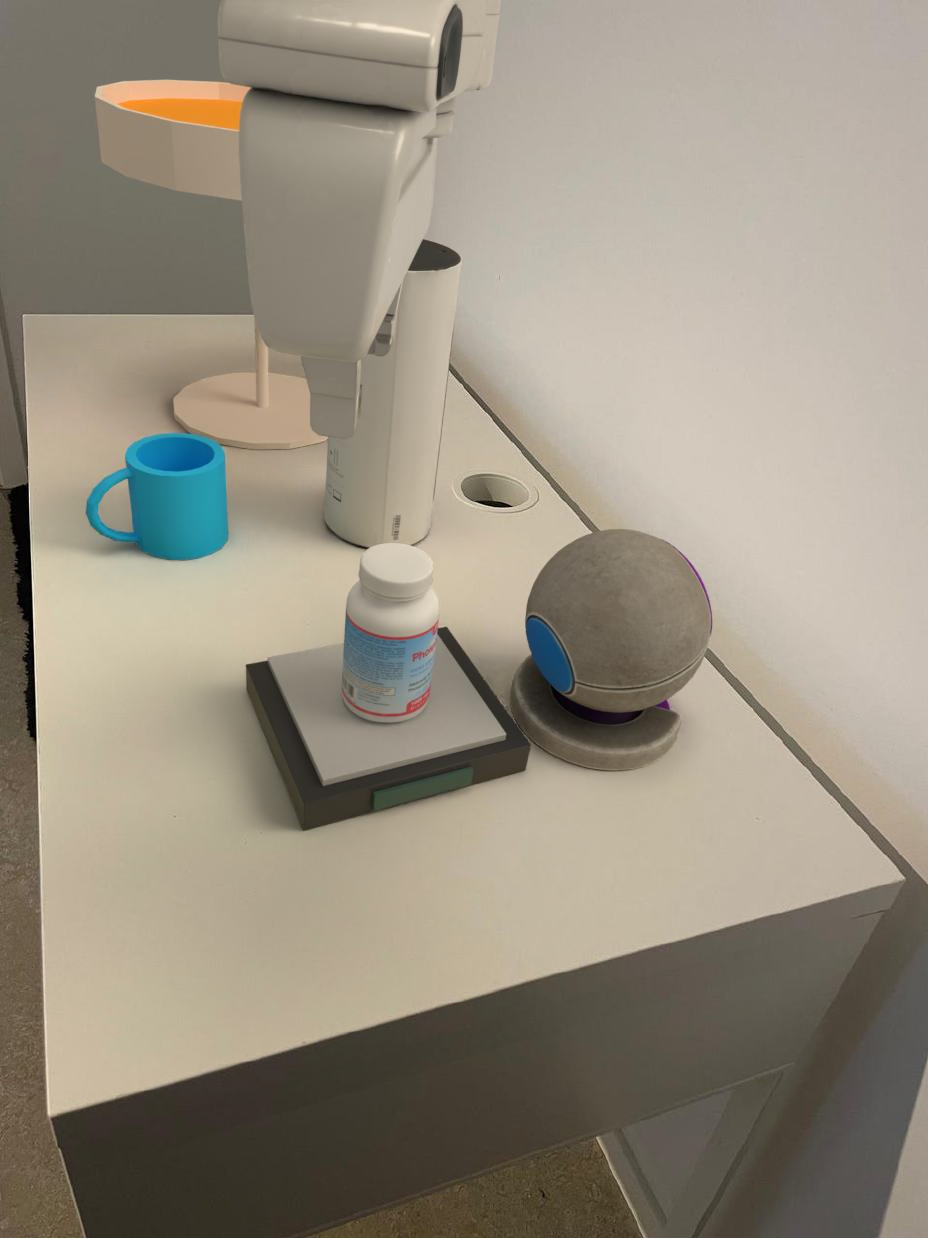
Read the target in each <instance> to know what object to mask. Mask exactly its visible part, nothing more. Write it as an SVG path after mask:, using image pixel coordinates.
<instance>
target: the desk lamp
mask: <svg viewBox="0 0 928 1238" xmlns="http://www.w3.org/2000/svg"><path fill="white" fill-rule="evenodd" d="M250 88H251V87H245V86H240V85H234V84H230V83H228V82H224V81H223V82H221V81H205V80H181V79H153V80H152V79H147V80H146V79H144V80H123V81H118V82H113V83H108V84H103V85H99V86H96V89H95V93H94V104H95V114H96V115H95V116H96V122H97V131H98V133H97V134H98V142H99V152H100V160H101V163H102V164H104V165H106V166H107V167H109V168H111V169H112V170H114V171H115V172H118V173H119V174H121V175H123V176H124V177H126V178H130V179H133V180H136V181H141V182H143V183H148V184H151V185H154V186H158V187H161V188H165V189H169V190H173V191H177V192H183V193H190V194H195V195H202V196H209V197H215V198H222V199H228V200H235V201H241V202H242V196H241V182H240V165H239V121H240V112H241V107H242V103H243V99H244V97H245V95H246V93H247V92H248V90H249V89H250ZM254 358H255V359H254V360H255V361H254V365H255V372H248V371H247V372H239V371H238V372H233V373H232V372H231V373H226V374H218V375H212V376H207V377H205V378H202V379H200V380H197V381H195V382H192V383H189V384H187V385H184V386H183V388H182V389H180V391H178V393H177V394H176V395H175V396H174V397H173V398H172V400H173V403H172V404H173V416H174V417H173V418H174V420H175V421H176V422H177V423H178V424H179V425H180V426H181V427H183V428H184V429H185V430H186V431H187V432H188V434H194V435H199V436H203V437H206V438H208V439H211V440H213V441H215V442H216V443H218V444H219V445H221V446H222V445H223V446H229V447H234V448H242V449H247V450H248V449H249V450H254V451H255V450H256V451H257V450H291V449H292V450H293V449H297V448H301V447H306V446H311V445H316V444H320V443H323V442H325V441H328V437H327V436H320V435H318V434H316V433H315V432H314V431H313V430H312V428H311V426H310V391H309V388H308V384H307V380H306V378H304V377H300V376H295V375H288V374H281V373H275V372H269V348H268V347H267V346H266V344H265V343H264V341H263V339H262V337H261V335H260V332H259V329H258V327H257V324H256V321H255V320H254Z"/></svg>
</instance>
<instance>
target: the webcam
mask: <svg viewBox="0 0 928 1238" xmlns="http://www.w3.org/2000/svg"><path fill="white" fill-rule="evenodd" d="M712 611H713V610H712V606H711V600H710V598H709V594H708V591H707V588H706V585H705V583H704V581H703V580H702V577H701V576H700V574H699V572H698V571H697V569H696V568H695V567H694V564H692V561H690V560H689V559H688V557H687V556H685V554H683V553H682V552H681V551H680V550H679V549H677V547H675V546H674V545H672V544H671V543H670V542H668V541H666V540H665V539H662V538H659V537H657V536H654V535H651V534H648V533H645V532H644V531H640V530H636V529H635V530H633V529H624V528H615V529H614V528H612V529H611V528H610V529H605V530H598V531H594V532H592V533H588V534H585V535H582V536H580V537H579V538H576V539H575V540H573V541H571V542H570V543H568V544H566V545H564V546H563V547H562V548H561V549H559V550H558V551H556V553H554V555H552V557H551V558H549V560H548V561H547V562H546V563H545V565H544V566H543V567H542V569H541V570H540V571H539V573H538V574H537V577H536V578H535V580H534V582H533V584H532V587H531V590H530V591H529V595H528V598H527V602H526V609H525V618H524V628H525V636H526V641H527V645H528V649H529V651H530V654H529V655H528V656H527V657H526V658H525V659H524V660H523V661H522V662H521V663H520V664H519V666H518V668H517V670H516V671H515V674H514V677H513V680H512V683H511V688H510V693H509V703H510V709H511V712H512V714H513V717H514V719H515V721H516V724H518V727H520V730H521V731H522V732H523V733H524V734H525V735H526V736H527V737H528V738H529V739H530V740H532V741H533V742H534V743H535V744H536V745H537V746H539V747H540V748H542V749H543V750H544V751H546V752H547V753H549V754H551V755H553V756H555V757H557V758H559V759H562V760H564V761H566V762H568V763H570V764H571V763H572V764H574V765H578V766H580V767H585V768H588V769H594V770H602V771H603V770H604V771H624V770H625V771H626V770H634V769H637V768H643V767H645V766H648V765H651V764H654V763H655V762H657V761H659V760H660V759H661V758H663V757H664V756H665V755H667V754H668V753H669V751H670V750H671V749H672V748H673V746H674V744H675V743H676V741H677V738H678V735H679V733H680V728H681V725H682V720H683V719H682V714H681V713H680V712H677V711H675V710H671V708H670V704H669V701H668V700H669V699H671V697H673V696H674V695H675V694H677V693H679V692H680V691H681V690H682V689H683V688H684V687H686V685H687V684H688V683H689V682H690V681H691V680H692V678H694V676H695V674H696V673H697V671H698V670H699V668H700V667H701V664H702V663H703V660H704V658H705V656H706V653H707V649H708V646H709V643H710V638H711V636H712V631H713V612H712Z"/></svg>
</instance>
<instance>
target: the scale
mask: <svg viewBox="0 0 928 1238" xmlns="http://www.w3.org/2000/svg"><path fill="white" fill-rule="evenodd" d="M343 650H344V642H342V643H337V644H332V645H331V644H330V645H327V646H322V647H316V648H311V649H305V650H299V651H295V652H294V651H293V652H289V653H285V654H279V655H273V656H268V657H267V660H263V661H257V662H251V663H246V664H245V685H246V686H245V687H246V689H245V690H246V693H247V696H248V698H249V700H250V703H251V705H252V707H253V710H254V712H255V714H256V717H257V719H258V722H259V725H260V727H261V729H262V732H263V735H264V737H265V739H266V742H267V744H268V746H269V749H270V751H271V754H272V757H273V759H274V761H275V763H276V766H277V769H278V772H279V774H280V776H281V779H282V781H283V783H284V787H285V788H286V791H287V793H288V795H289V798H290V801H291V804H292V806H293V808H294V810H295V813H296V815H297V818H298V820H299V822H300V825H301V828H302V830H303V831H308V830H312V829H315V828H319V827H324V826H326V825H332V824H335V823H338V822H341V821H345V820H349V819H352V818H356V817H361V816H364V815H368V814H371V813H374V812H375V813H376V812H379V811H381V810H382V811H383V810H386V809H390V808H394V807H396V806H400V805H404V804H408V803H411V802H415V801H419V800H422V799H426V798H429V797H434V796H437V795H441V794H445V793H448V792H452V791H455V790H459V789H463V788H467V787H470V786H473V785H477V784H481V783H486V782H489V781H492V780H496V779H499V778H503V777H507V776H511V775H514V774H518V773H521V772H526V770H527V766H528V761H529V756H530V751H531V747H532V744H531V743H530V742H529V740H528V739H527V737H526V736H525V735H524V732H523V731H522V729H521V728H519V725H517V722H515V720H514V719H513V717H512V716H511V715H510V714H509V712H508V710H507V709H506V708H505V706H504V705H503V704H502V701H500V699H499V698H498V697H497V695H496V694H495V693H494V691H493V690H492V688H491V687H490V686H489V684H488V682H487V681H486V680H485V678H484V677H483V676H482V674H481V672H480V671H479V670H478V669H477V667H476V665H475V664H474V663H473V661H472V660H471V659H470V657H469V656H468V654H467V653H466V651H465V650H464V649H463V647H462V646H461V644H460V643H459V641H458V640H457V639H456V638H455V636H454V634H453V633H452V632H451V630H450V629H449V628H448V626H442V627H438V631H437V640H436V647H435V655H434V664H433V672H432V680H431V688H430V695H429V700H428V703H427V705H426V707H425V708H424V709H423V710H422V712H420V713H419V714H418V715H417V716H415V717H413V718H411V719H409V720H406V721H401V722H395V723H385V722H375V721H370V720H367V719H364V718H362V717H360V716H358V715H356V714H355V713H354V712H352V711H351V710H350V709H349V708H348V706H347V705H346V703H345V702H344V699H343V696H342V670H343Z"/></svg>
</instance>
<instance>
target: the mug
mask: <svg viewBox="0 0 928 1238" xmlns="http://www.w3.org/2000/svg"><path fill="white" fill-rule="evenodd" d="M124 460H125V468H124V467H123V468H121V469H118V470H116V471H114V472H112V473H111V474H109V475H107V476H105V477H104V478H103V479H101V480H100V482H98V483H97V484H96V485H95V486H94V487H93V488H92V490H91V492H90V494H89V495H88V497H87V499H86V505H85V516H86V518H87V520H88V523H89V525H90V527H92V529H94V530H95V531H96V532H97V533H98V534H99V536H100V535H101V536H103V537H104V538H107V539H109V540H112V541H115V542H122V543H135V544H136V546H137V547H138V548H139V549H140V550H141V551H142V552H144V553H145V554H148V555H150V556H152V557H154V558H159V559H164V560H169V561H188V560H194V559H201V558H204V557H207V556H210V555H213V554H214V553H215V552H217V551H219V550H221V549H222V548H223V547H224V546H225V545H226V543H227V542H228V540H229V539H228V538H229V516H228V515H229V514H228V513H229V512H228V493H227V492H228V491H227V467H226V466H227V465H226V452H225V450H224V448H223V446H222V445H221V444H218V443H216V442H215V441H213V440H211V439H208V438H206V437H203V436H199V435H194V434H191V433H186V432H168V433H167V432H166V433H157V434H153V435H149V436H144V437H143V438H140V439H138V440H136V441H134V442H132V443H131V444H130V445H129V446H128V447H127V448H126V450H125V454H124ZM125 480H127V487H128V495H129V503H130V504H129V505H130V513H131V521H132V530H133V531H122V530H116V529H114V528H111V527H109V526H107V524H105V522H103V521H102V520H101V517H100V515H99V507H100V503H101V501H102V499H103V497H104V495H105V494H106V493H107V492H109V491H110V490H111V489H112V488H113V487H114V486H116V485H117V484H119V483H121V482H123V481H125Z"/></svg>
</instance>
